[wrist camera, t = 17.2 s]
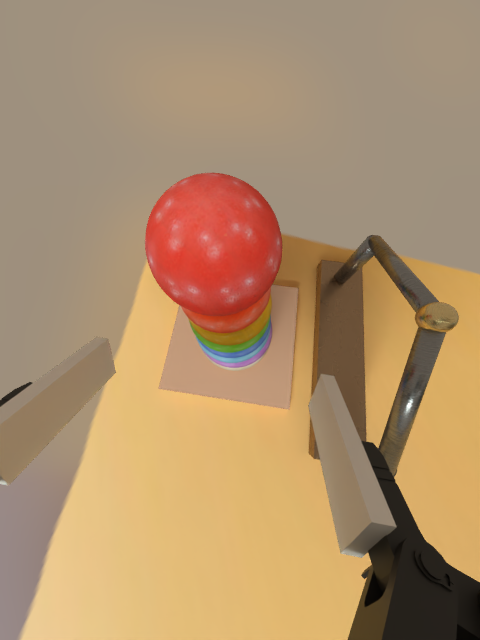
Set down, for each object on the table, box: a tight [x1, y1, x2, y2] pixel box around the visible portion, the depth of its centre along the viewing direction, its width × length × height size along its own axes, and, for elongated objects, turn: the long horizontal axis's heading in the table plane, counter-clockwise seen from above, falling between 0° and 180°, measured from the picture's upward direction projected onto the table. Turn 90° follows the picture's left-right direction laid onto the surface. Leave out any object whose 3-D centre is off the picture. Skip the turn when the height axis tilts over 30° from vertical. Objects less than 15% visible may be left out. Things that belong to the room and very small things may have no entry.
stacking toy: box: [145, 173, 282, 371], centre depth 15 cm, size 8×8×19 cm
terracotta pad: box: [159, 285, 298, 409], centre depth 24 cm, size 14×14×1 cm
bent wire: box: [309, 235, 459, 477], centre depth 18 cm, size 22×5×14 cm, turn 172°
